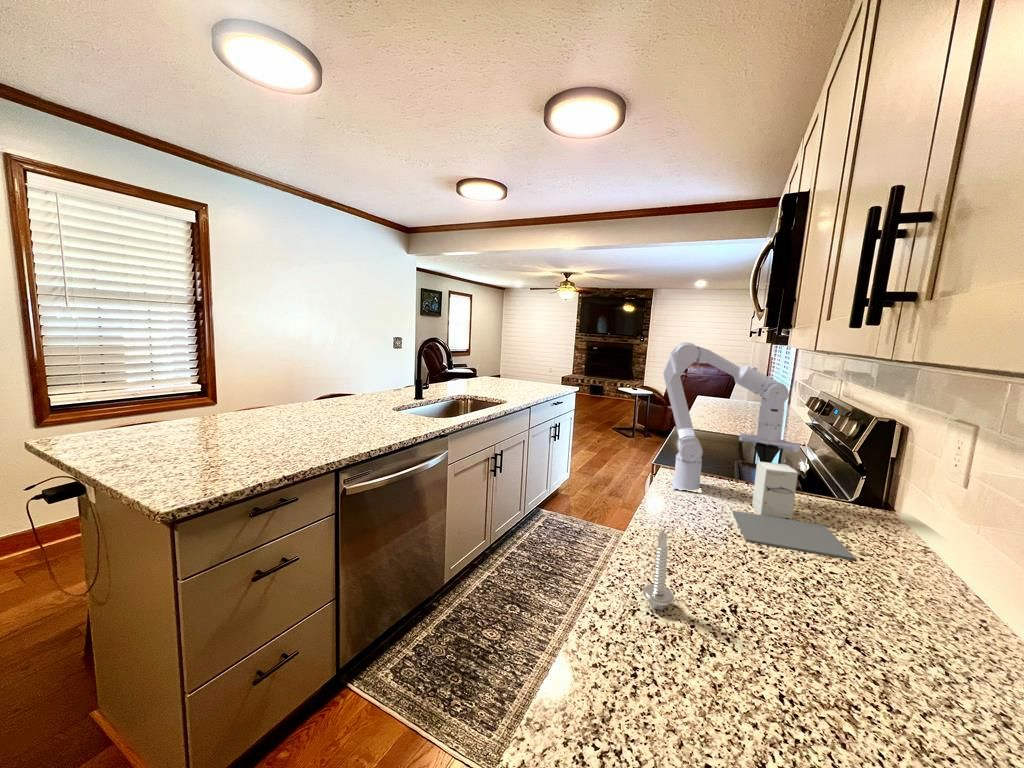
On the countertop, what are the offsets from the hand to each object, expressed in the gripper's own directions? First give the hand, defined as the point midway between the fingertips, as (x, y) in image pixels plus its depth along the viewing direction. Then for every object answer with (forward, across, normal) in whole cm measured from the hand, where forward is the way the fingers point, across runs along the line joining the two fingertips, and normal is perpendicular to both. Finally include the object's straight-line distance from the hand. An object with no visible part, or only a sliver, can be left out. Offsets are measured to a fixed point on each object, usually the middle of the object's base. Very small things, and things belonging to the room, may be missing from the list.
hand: (765, 470), depth 112 cm
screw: (+9, +6, -67) cm, 68 cm away
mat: (+8, +11, -19) cm, 24 cm away
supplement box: (+9, +5, -8) cm, 13 cm away
